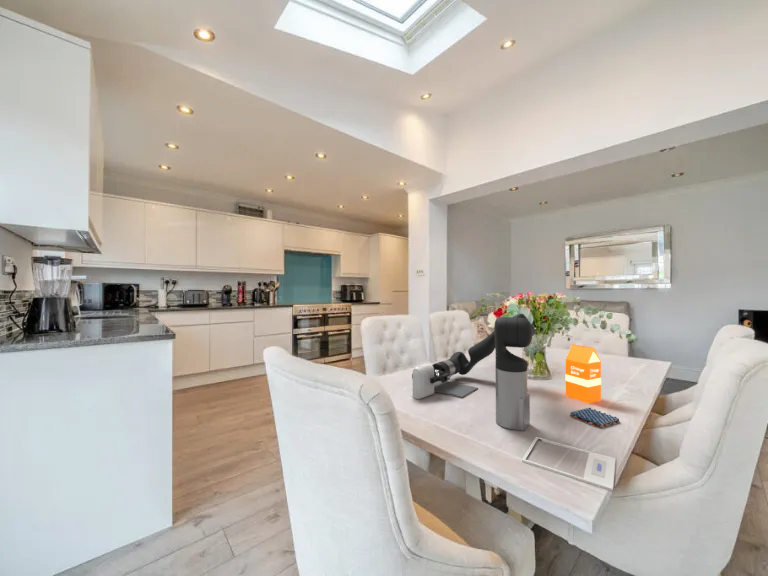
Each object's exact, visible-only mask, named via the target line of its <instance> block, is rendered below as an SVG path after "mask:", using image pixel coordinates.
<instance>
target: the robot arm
mask: <svg viewBox="0 0 768 576" xmlns="http://www.w3.org/2000/svg"><path fill="white" fill-rule="evenodd" d="M493 327H494V329H493V330H494V331H492V332H491V333H490V334H489V335H488V336H486V337H485V338H484V339H482V340H481V341H479V342H478V343H476V344H474V345H473V346H471V347H469V349H468V351H467V353H468V356H469V359H468V358H467V357H466V355H465V353H464V352H462V351H456V352H454V353H453V354H452V355H451V356H450V358H448V359H445V360H441V361H438V362H436V363H433V364H431V365H432V366H433V367H434V376H433V377H431V378H430V383H431V384H433V383H435V382H440V381H441V382H442V383H444V382H446V381H450V380H451V377H452V376H454V375H457V374H458V375H462V376H464V375H467V374H468V373H470V371H471V370H473V368H474V367H475V366H476V365H477V364H478V363H480V361H482V360H484V359H486V358H487V357H488V356H490V355H491V354H493V352H494V351H495V423H496V424H497V425H499V426H500V427H502V428H505V429H509V430H515V431H516V430H517V431H518V430H519V431H522V432H523V431H525V430H526V429H527V428H528V426H529V425H531V415H530V414H531V413H530V412H531V411H530V410H531V409H530V408H531V405H530V404H531V403H530V401H531V400H530V399H531V398H530V397H531V396H530V393H528V361H527V360H526V359H524V358H522V357H520V356H517V355H515V354H514V353H512V352H511V351H509V350H508V349H507V347H508V348H521V349H525V348H527V347H529V346H530V345H531V343H532V340H533V336H534V335H535V333H536V328H535V327H534V325H533V324H532V323H531V321H530V320H529V319H528V317H527V316H526V315H525V314H524V313H518V314H515V315H513V316H511V317H510V316H509V317H508V316H499V317H497V318H496V319H495V321H494V326H493ZM411 379H412V380H413V373H412V374H411Z"/></svg>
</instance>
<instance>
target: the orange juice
mask: <svg viewBox="0 0 768 576" xmlns="http://www.w3.org/2000/svg"><path fill="white" fill-rule="evenodd" d="M564 378H565V397H568V398H571V399H573V400H576V401H579V402H582V403H585V404H592V403H596V402H600V401H602V361H601V359H600V357H599V355H598V353H597V350H596V348H595V347H592V346H591V347H590V346H586V345H585V346H584V345H580V344H571V346H570V348H569V351H568V353H567V356H566V358H565V377H564Z"/></svg>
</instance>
